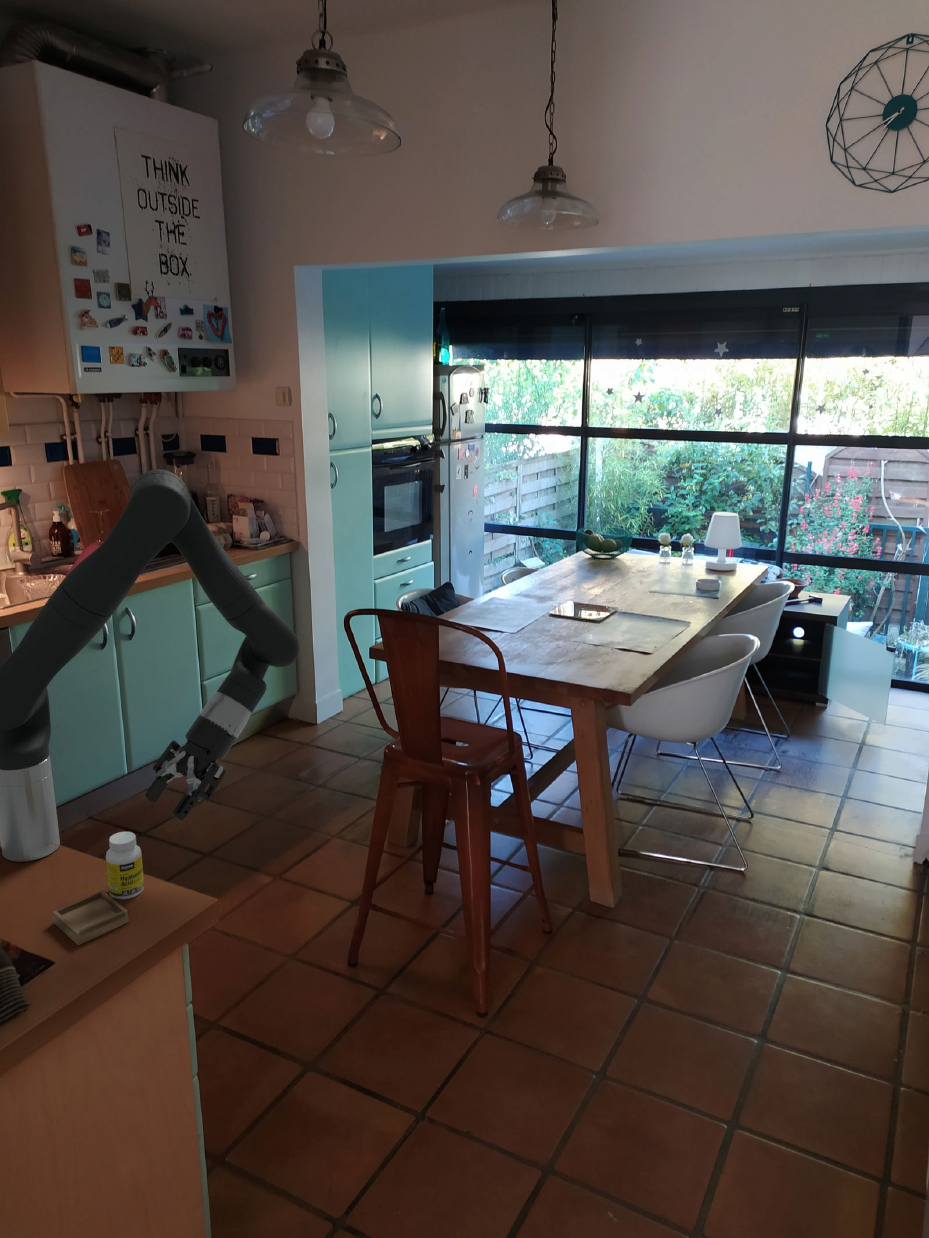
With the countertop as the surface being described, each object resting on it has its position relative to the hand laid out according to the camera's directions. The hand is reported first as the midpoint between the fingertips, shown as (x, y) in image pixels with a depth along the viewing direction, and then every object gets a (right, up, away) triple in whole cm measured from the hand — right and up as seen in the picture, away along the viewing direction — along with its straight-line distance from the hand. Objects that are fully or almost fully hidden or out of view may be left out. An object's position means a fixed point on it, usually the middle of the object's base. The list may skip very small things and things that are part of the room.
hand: (163, 808), depth 151 cm
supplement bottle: (-5, -13, -2) cm, 14 cm away
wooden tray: (-8, -15, -10) cm, 20 cm away
